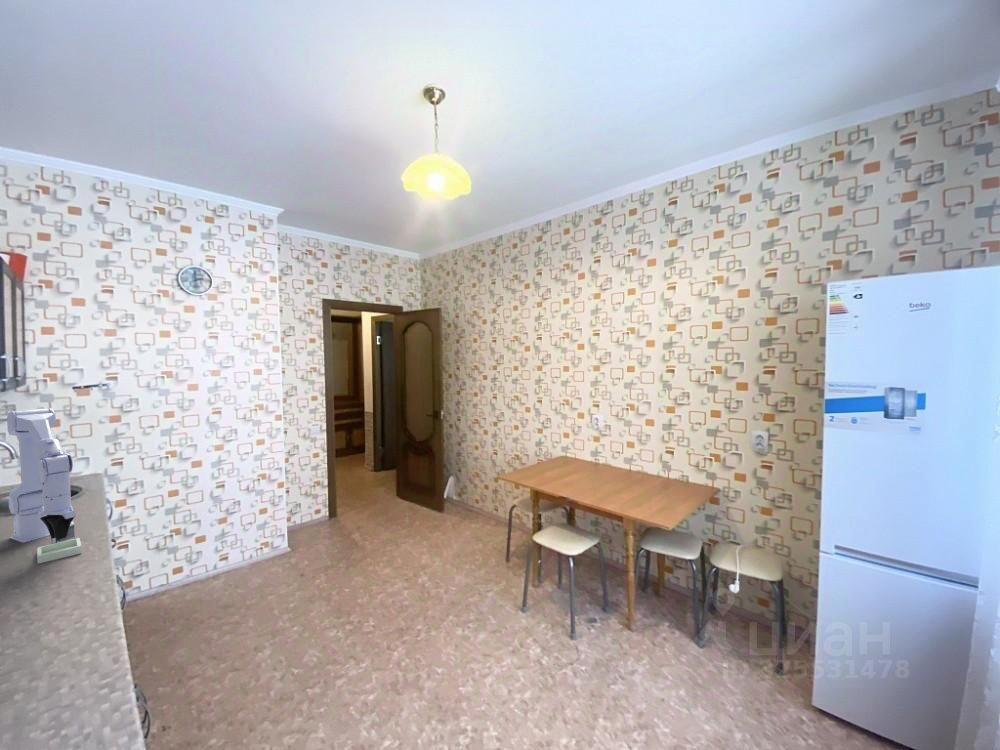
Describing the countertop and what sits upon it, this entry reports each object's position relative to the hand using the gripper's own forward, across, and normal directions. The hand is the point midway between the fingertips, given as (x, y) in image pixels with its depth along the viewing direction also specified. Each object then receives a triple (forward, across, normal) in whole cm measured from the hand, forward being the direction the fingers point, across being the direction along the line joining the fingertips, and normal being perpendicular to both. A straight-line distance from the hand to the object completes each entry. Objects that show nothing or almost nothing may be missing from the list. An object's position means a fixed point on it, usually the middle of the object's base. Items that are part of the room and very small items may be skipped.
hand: (59, 537), depth 124 cm
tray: (+5, 0, 0) cm, 5 cm away
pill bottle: (+5, -9, +4) cm, 11 cm away
